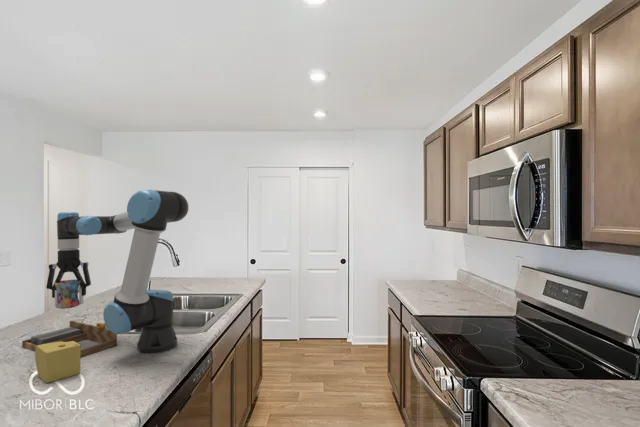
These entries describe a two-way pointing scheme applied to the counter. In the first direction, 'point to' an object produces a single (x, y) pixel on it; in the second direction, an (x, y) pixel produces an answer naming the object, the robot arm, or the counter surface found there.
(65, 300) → the mug
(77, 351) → the cheese
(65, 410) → the counter surface
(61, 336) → the rack
